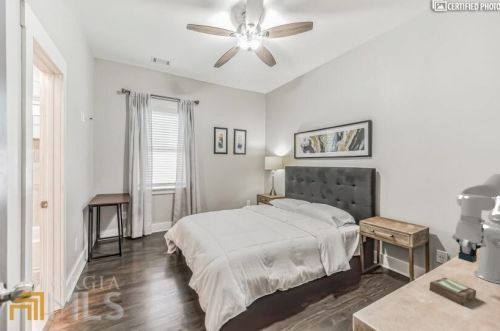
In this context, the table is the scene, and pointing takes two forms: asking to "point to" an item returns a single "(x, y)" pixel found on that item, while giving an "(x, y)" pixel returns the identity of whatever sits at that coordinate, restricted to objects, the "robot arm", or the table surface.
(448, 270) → the table surface
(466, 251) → the watch
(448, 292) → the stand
